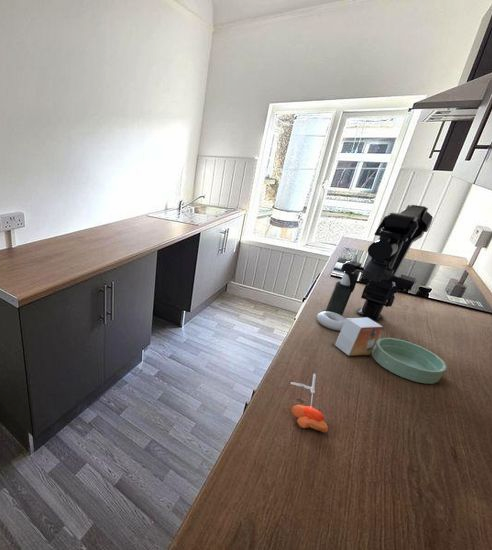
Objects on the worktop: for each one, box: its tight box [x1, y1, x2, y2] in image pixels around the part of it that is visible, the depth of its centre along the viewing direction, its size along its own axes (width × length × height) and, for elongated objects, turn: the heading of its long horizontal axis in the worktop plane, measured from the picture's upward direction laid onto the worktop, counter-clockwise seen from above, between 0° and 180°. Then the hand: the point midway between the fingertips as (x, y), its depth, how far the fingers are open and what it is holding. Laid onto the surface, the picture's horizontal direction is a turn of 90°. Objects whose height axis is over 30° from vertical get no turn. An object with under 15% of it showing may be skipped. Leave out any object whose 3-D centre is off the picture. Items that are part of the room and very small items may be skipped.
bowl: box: [371, 337, 447, 385], centre depth 87 cm, size 15×15×4 cm
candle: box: [325, 253, 358, 316], centre depth 109 cm, size 5×5×25 cm
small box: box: [334, 316, 384, 357], centre depth 92 cm, size 8×6×10 cm
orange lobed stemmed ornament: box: [290, 373, 329, 433], centre depth 66 cm, size 6×10×12 cm, turn 39°
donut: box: [316, 310, 347, 332], centre depth 107 cm, size 10×4×10 cm
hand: (367, 297), depth 100 cm, fingers open, 9 cm apart
